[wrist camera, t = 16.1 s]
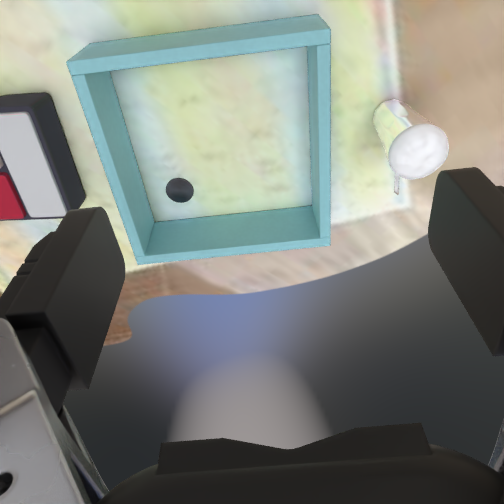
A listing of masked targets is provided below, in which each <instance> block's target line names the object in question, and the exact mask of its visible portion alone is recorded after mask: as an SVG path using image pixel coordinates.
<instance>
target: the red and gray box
mask: <svg viewBox="0 0 504 504" xmlns="http://www.w3.org/2000/svg"><path fill="white" fill-rule="evenodd" d="M85 198H86V197H85V193H84V191H83V188H82V185H81V182H80V179H79V176H78V173H77V171H76V168H75V165H74V162H73V159H72V156H71V153H70V151H69V148H68V145H67V142H66V139H65V136H64V133H63V130H62V128H61V125H60V122H59V119H58V116H57V113H56V110H55V108H54V105H53V102H52V99H51V97H50V95H49V94H47V93H28V94H12V95H5V96H0V221H5V220H31V219H56V218H64V216H65V215H66V213H67V212H68V211H69V210H74V209H79V208H80V206H81V205H82V203H83V202H84V200H85Z"/></svg>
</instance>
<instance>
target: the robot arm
mask: <svg viewBox="0 0 504 504" xmlns="http://www.w3.org/2000/svg"><path fill="white" fill-rule="evenodd" d="M428 238H429V244H430V247H431V250H432V252H433V254H434V256H435V257H436V259H437V261H438V262H439V264H440V266H441V267H442V269H443V271H444V273H445V274H446V276H447V278H448V280H449V281H450V283H451V285H452V286H453V288H454V290H455V292H456V293H457V295H458V297H459V298H460V300H461V302H462V303H463V305H464V307H465V309H466V310H467V312H468V314H469V316H470V317H471V319H472V321H473V322H474V324H475V326H476V328H477V329H478V331H479V333H480V334H481V336H482V337H483V340H484V341H485V343H486V345H487V346H488V348H489V350H490V351H491V353H492V355H493V356H501V355H504V187H503V186H495V185H494V184H493V183H492V182H491V181H490V180H489V179H488V178H487V177H486V176H485V175H484V173H483V172H482V171H481V170H480V169H478V168H476V167H472V168H463V169H453V170H444V171H441V172H440V173H439V174H438V177H437V180H436V185H435V191H434V197H433V203H432V209H431V214H430V220H429V227H428ZM24 261H25V263H24V264H22V265H21V267H20V268H19V270H18V271H17V276H14V277H13V279H12V281H11V282H10V284H9V285H8V287H7V288H6V290H5V291H4V293H3V294H2V296H1V298H0V504H504V420H503V423H502V427H501V430H500V434H499V437H498V440H497V443H496V446H495V449H494V452H493V455H492V457H491V460H490V463H489V465H486V464H484V463H482V462H480V461H478V460H476V459H474V458H472V457H470V456H467V455H465V454H462V453H459V452H457V451H455V450H452V449H448V448H445V447H441V446H438V445H433V444H428V441H427V438H426V435H425V433H424V430H423V427H422V424H421V423H412V424H399V425H386V426H374V427H361V428H354V429H351V430H348V431H345V432H343V433H339V434H337V435H334V436H331V437H328V438H325V439H322V440H319V441H316V442H313V443H311V444H308V445H305V446H302V447H299V448H295V449H280V448H275V447H270V446H264V445H259V444H253V443H247V442H242V441H237V440H231V439H225V438H220V439H206V440H193V441H180V442H167V443H161V448H160V455H159V460H158V464H157V465H154V466H151V467H149V468H147V469H145V470H143V471H140V472H138V473H136V474H134V475H133V476H131V477H130V478H128V479H126V480H125V481H123V482H122V483H120V484H119V485H118V486H116V487H115V488H114V489H112V490H111V491H110V492H109V491H108V489H107V487H106V486H105V484H104V482H103V481H102V479H101V477H100V475H99V473H98V471H97V470H96V468H95V465H94V463H93V461H92V460H91V457H90V455H89V453H88V451H87V449H86V447H85V446H84V443H83V441H82V439H81V437H80V435H79V433H78V431H77V429H76V427H75V425H74V423H73V421H72V419H71V417H70V415H69V413H68V411H67V409H66V407H65V406H64V404H63V401H64V399H65V396H66V393H67V391H70V390H82V389H89V386H90V383H91V380H92V377H93V374H94V371H95V368H96V365H97V362H98V358H99V356H100V353H101V350H102V347H103V344H104V341H105V338H106V335H107V332H108V329H109V326H110V323H111V320H112V317H113V314H114V311H115V307H116V304H117V301H118V298H119V295H120V292H121V289H122V286H123V283H124V280H125V263H124V258H123V255H122V253H121V250H120V247H119V245H118V242H117V239H116V237H115V234H114V231H113V229H112V226H111V223H110V221H109V218H108V215H107V213H106V211H105V210H104V209H103V208H102V207H92V208H83V209H74V210H69V211H68V212H67V213H66V215H65V216H64V218H63V220H62V221H61V223H60V225H59V226H58V228H57V230H56V231H55V232H50V233H49V234H48V235H47V236H45V237H44V238H43V239H42V240H40V241H39V242H38V243H37V244H36V245H34V247H33V248H32V250H31V251H30V253H29V254H28V256H27V257H26V259H25V260H24Z"/></svg>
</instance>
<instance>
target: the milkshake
mask: <svg viewBox="0 0 504 504" xmlns="http://www.w3.org/2000/svg"><path fill="white" fill-rule="evenodd" d="M373 124H374V126H375V129H376V131H377V133H378V135H379V138H380V140H381V142H382V145H383V147H384V150H385V153H386V156H387V158H388V161H389V164H390V167H391V169H392V170H393V171H394V172H395V186H394V192H395V193H396V194H397V195H398V194H399V176H400V177H403V178H405V179H419V178H423V177H426V176H428V175H430V174H431V173H433V172H434V171H435V170H437V169H438V168H439V167H440V166H441V165H442V164H443V163H444V161H445V160H446V158H447V156H448V152H449V144H448V138H447V135H446V134H445V133H444V131H443V130H442V129H440V128H439V127H438V126H436V125H435V124H433V123H432V122H430V121H429V120H427V119H426V118H424V117H423V116H422V115H420V114H419V113H418V112H417V111H415V110H414V109H413V108H411V107H410V106H409V105H407V104H406V103H405V102H402V101H399V100H397V99H391V100H388V101H385V102H382V103H381V105H380V106H379V107H378V108H377V109H376V110H375V112H374V118H373Z"/></svg>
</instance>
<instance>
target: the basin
mask: <svg viewBox="0 0 504 504" xmlns="http://www.w3.org/2000/svg"><path fill="white" fill-rule="evenodd" d="M330 43H331V29H330V27H329V26H328V25H327V24H326V23H325V22H324V20H323V19H322V18H321V17H320V16H319V15H318V14H315V15H308V16H300V17H292V18H284V19H276V20H269V21H261V22H253V23H245V24H237V25H230V26H222V27H214V28H206V29H198V30H191V31H183V32H175V33H167V34H159V35H151V36H144V37H136V38H128V39H120V40H112V41H105V42H97V43H90V44H88V45H87V46H86V47H85V48H83V49H82V50H81V51H79V52H78V53H77V54H76V55H74V56H73V57H72V58H70V59H69V60H68V61H67V62H66V63H67V66H68V69H69V71H70V74H71V75H72V80H73V82H74V85H75V88H76V91H77V94H78V97H79V99H80V102H81V105H82V108H83V111H84V114H85V116H86V119H87V122H88V125H89V128H90V131H91V133H92V136H93V139H94V142H95V145H96V148H97V150H98V153H99V156H100V159H101V162H102V164H103V167H104V170H105V173H106V176H107V179H108V181H109V184H110V187H111V190H112V193H113V196H114V198H115V201H116V204H117V207H118V210H119V213H120V215H121V218H122V221H123V224H124V227H125V229H126V232H127V235H128V238H129V241H130V244H131V246H132V249H133V252H134V255H135V258H136V261H137V264H138V265H141V264H151V263H161V262H171V261H181V260H191V259H201V258H211V257H221V256H231V255H241V254H251V253H261V252H271V251H281V250H291V249H301V248H311V247H321V246H330V156H331V45H330ZM306 46H307V57H308V91H309V124H310V158H311V192H312V206H305V207H296V208H286V209H277V210H267V211H258V212H248V213H239V214H229V215H220V216H210V217H200V218H191V219H181V220H172V221H162V222H154V218H153V215H152V212H151V208H150V205H149V202H148V198H147V195H146V192H145V188H144V185H143V182H142V178H141V175H140V172H139V168H138V165H137V162H136V158H135V155H134V152H133V148H132V145H131V142H130V138H129V135H128V132H127V128H126V125H125V121H124V118H123V115H122V111H121V108H120V105H119V101H118V98H117V95H116V91H115V88H114V85H113V81H112V78H111V75H110V71H113V70H121V69H129V68H137V67H145V66H153V65H161V64H170V63H178V62H186V61H194V60H202V59H210V58H218V57H226V56H234V55H242V54H250V53H258V52H266V51H274V50H282V49H290V48H298V47H306ZM166 193H167V195H168V197H169V198H170V199H172V200H173V201H175V202H180V203H182V202H186V201H188V200H190V199H191V198H192V196H193V187H192V185H191V184H190V183H189V182H188V181H187V180H185V179H181V178H176V179H173V180H171V181H170V182H169V183H168V184H167V186H166Z"/></svg>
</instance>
